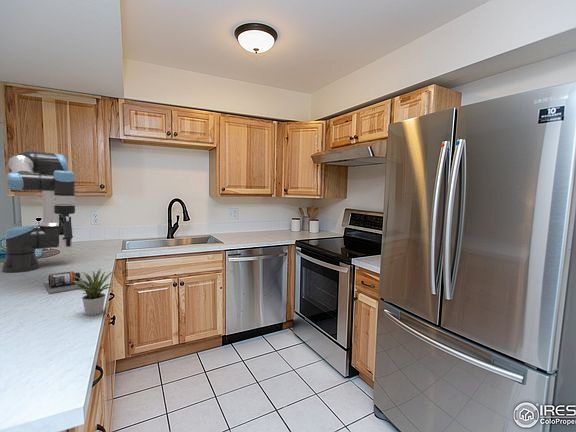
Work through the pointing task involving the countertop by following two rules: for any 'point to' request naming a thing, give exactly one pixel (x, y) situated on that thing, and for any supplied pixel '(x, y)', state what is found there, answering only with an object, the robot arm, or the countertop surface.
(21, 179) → the robot arm
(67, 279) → the supplement bottle
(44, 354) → the countertop surface
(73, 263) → the countertop surface
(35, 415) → the countertop surface
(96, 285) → the house plant
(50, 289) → the rubber mat
